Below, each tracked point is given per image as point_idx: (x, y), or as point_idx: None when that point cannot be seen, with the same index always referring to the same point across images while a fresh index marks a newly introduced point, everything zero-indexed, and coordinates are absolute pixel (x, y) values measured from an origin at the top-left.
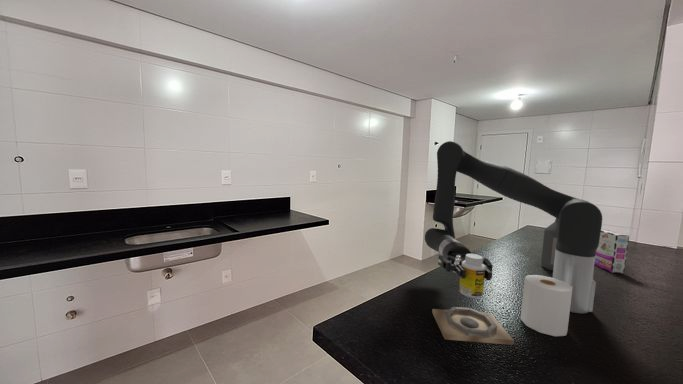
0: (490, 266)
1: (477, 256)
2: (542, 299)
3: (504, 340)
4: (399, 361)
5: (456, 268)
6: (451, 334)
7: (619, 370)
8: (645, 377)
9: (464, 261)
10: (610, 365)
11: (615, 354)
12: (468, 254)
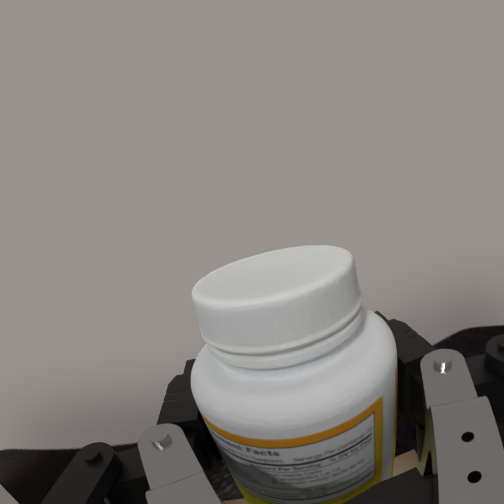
0: (107, 448)
1: (239, 275)
2: (9, 497)
3: (230, 501)
4: (469, 354)
5: (425, 343)
6: (396, 459)
7: (52, 461)
8: (35, 450)
9: (370, 329)
10: (51, 469)
11: (12, 487)
12: (324, 265)
